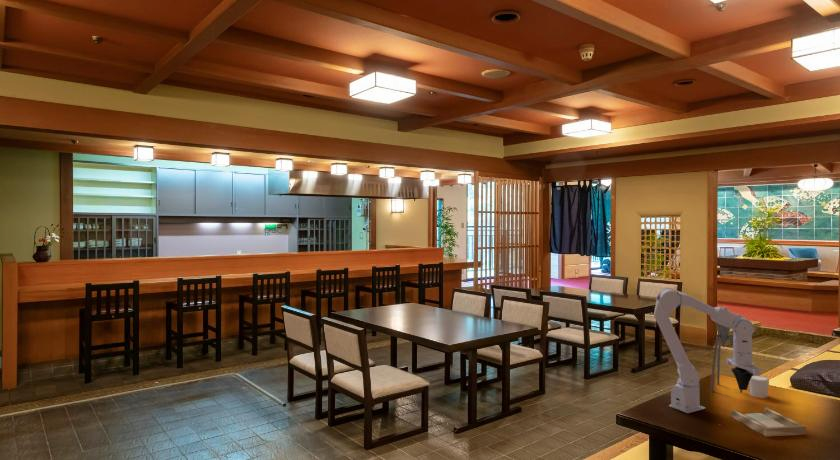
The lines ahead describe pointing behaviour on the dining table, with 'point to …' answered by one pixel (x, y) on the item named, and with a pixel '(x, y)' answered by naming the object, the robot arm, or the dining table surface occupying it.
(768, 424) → the cream tile
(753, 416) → the celadon tile
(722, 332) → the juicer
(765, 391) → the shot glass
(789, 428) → the box
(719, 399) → the dining table surface
